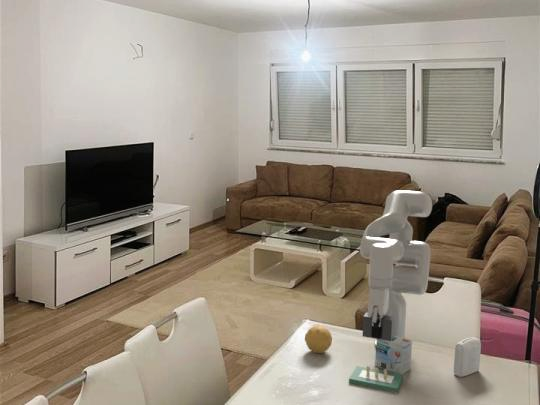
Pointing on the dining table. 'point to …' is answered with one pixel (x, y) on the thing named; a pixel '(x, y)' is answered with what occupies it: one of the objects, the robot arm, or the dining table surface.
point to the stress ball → (318, 339)
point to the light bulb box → (394, 354)
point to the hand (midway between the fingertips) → (378, 334)
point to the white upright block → (467, 357)
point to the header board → (376, 379)
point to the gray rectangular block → (386, 325)
